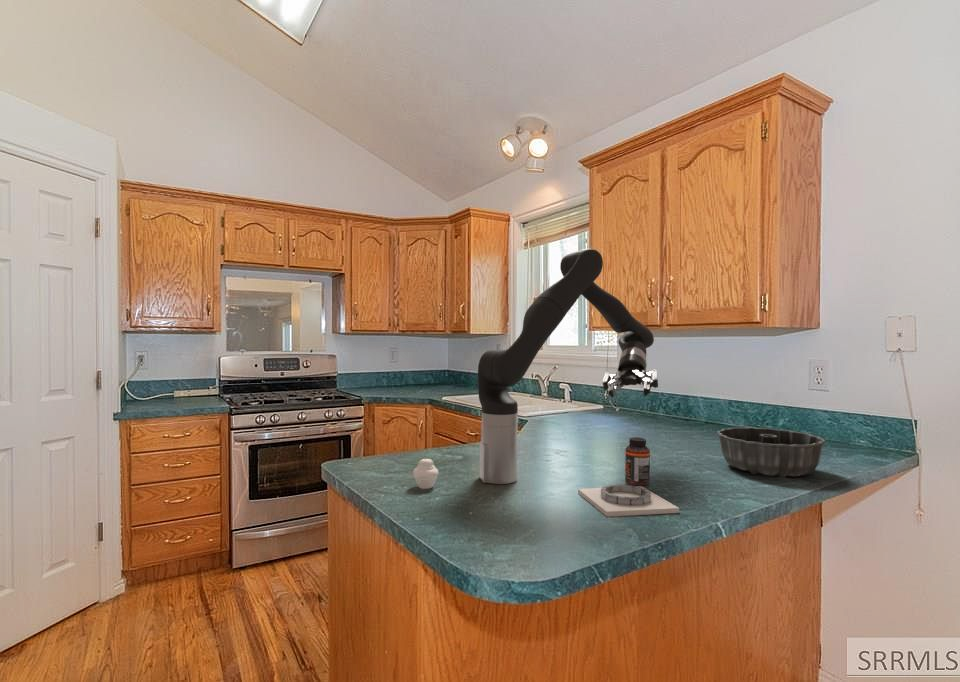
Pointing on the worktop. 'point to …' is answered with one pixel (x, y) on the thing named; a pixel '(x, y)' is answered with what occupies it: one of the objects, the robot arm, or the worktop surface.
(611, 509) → the board
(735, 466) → the bundt pan
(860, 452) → the worktop surface
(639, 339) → the robot arm
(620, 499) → the collar
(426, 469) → the white lidded jar
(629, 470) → the supplement bottle
